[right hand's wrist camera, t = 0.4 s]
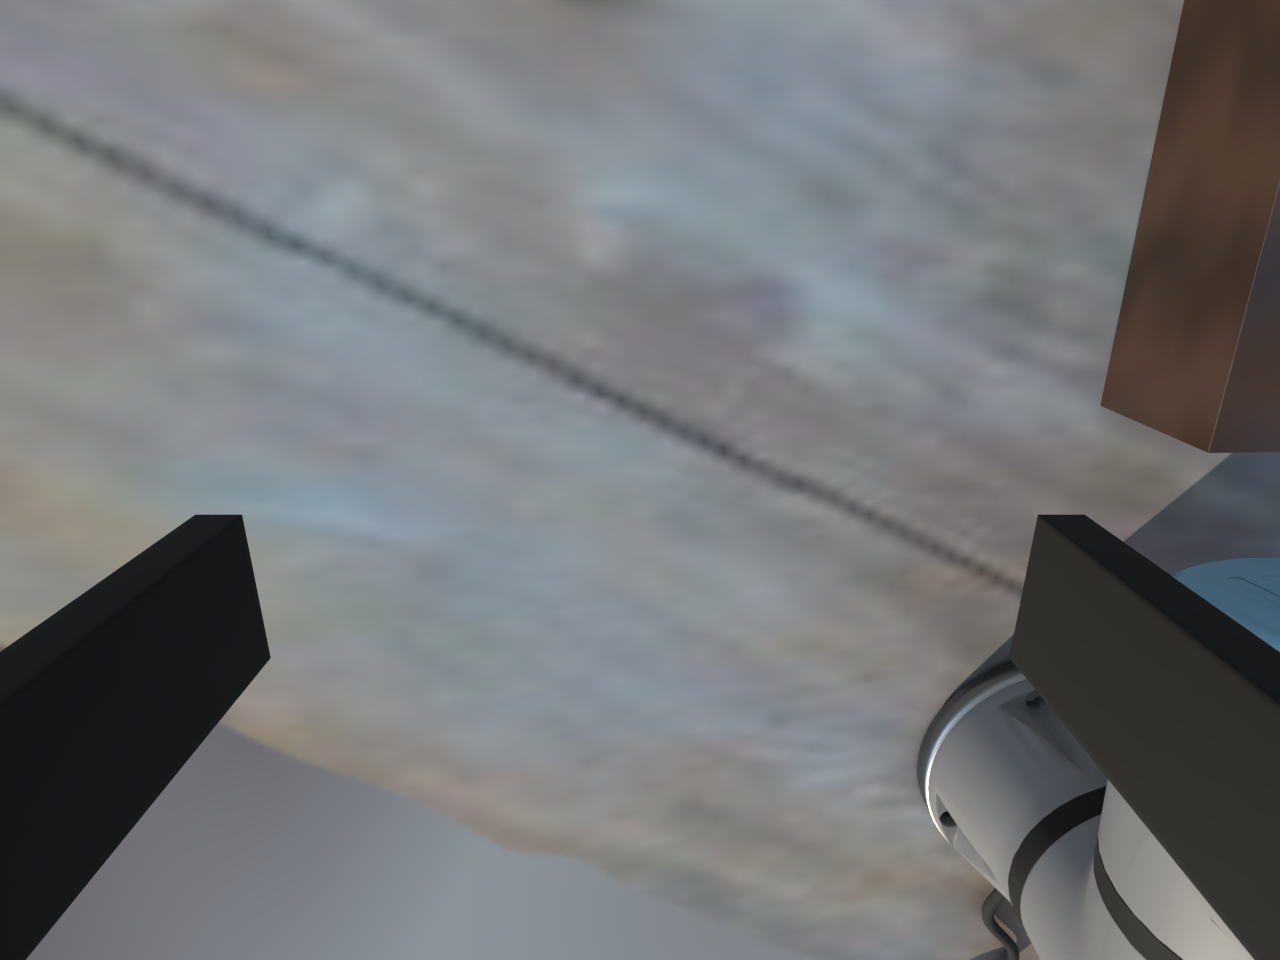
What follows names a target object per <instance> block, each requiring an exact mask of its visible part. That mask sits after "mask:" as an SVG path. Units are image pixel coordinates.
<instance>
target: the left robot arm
mask: <svg viewBox="0 0 1280 960" xmlns="http://www.w3.org/2000/svg"><path fill="white" fill-rule="evenodd" d="M1172 577H1174V578H1175V579H1177V580H1178V581H1179V582H1181V583H1182V584H1184V585H1185V586H1187V587H1188V588H1189V589H1191V590H1192V591H1194V592H1195V593H1197V594H1198V595H1199V596H1201V597H1202V598H1204V599H1205V600H1206V601H1208V602H1209V603H1211V604H1212V605H1214V606H1215V607H1216V608H1218V609H1219V610H1221V611H1222V612H1224V613H1225V614H1226V615H1228V616H1229V617H1231V618H1232V619H1233V620H1235V621H1236V622H1238V623H1239V624H1241V625H1242V626H1243V627H1245V628H1246V629H1248V630H1249V631H1251V632H1252V633H1253V634H1255V635H1256V636H1258V637H1259V638H1261V639H1262V640H1263V641H1265V642H1266V643H1268V644H1269V645H1270V646H1272V647H1273V648H1275V649H1276V650H1278V651H1279V652H1280V558H1276V557H1262V558H1240V559H1229V560H1221V561H1214V562H1208V563H1204V564H1200V565H1195V566H1192V567H1189V568H1187V569H1184V570H1181V571H1179V572H1177V573H1175V574H1174V575H1172ZM917 776H918V784H919V788H920V791H921V794H922V797H923V799H924V802H925V804H926V806H927V808H928V810H929V812H930V814H931V816H932V819H933V821H934V823H935V824H936V826H937V828H938V830H939V831H940V832H941V834H942V835H943V836H944V837H945V838H946V840H947V841H948V842H949V843H950V844H951V845H952V846H953V847H954V848H955V849H956V850H957V851H958V852H959V853H960V854H961V855H962V856H963V857H964V858H965V859H966V860H968V861H969V862H970V863H971V864H972V865H973V866H974V867H975V868H976V869H977V870H978V871H979V872H980V873H981V874H982V875H983V876H984V877H985V878H986V879H987V880H988V881H989V882H990V883H991V884H992V885H993V886H994V887H995V889H994V890H993V891H992V893H991V894H990V895H989V896H988V897H987V899H986V900H985V902H984V904H983V907H982V917H983V921H984V923H985V925H986V927H987V928H988V929H989V931H990V932H991V933H992V934H993V935H994V936H995V937H996V938H997V939H998V940H999V941H1000V942H1001V943H1002V944H1003V945H1004V947H1005V948H1006V950H1007V957H1006V960H1019V951H1018V947H1017V946H1016V944H1015V942H1014V941H1013V940H1012V939H1011V937H1010V936H1009V935H1008V934H1007V933H1006V932H1005V931H1004V930H1003V929H1002V928H1001V927H1000V926H999V925H998V924H997V922H996V921H995V918H994V912H995V910H996V908H997V906H998V905H999V904H1000V903H1001V902H1002V900H1003V899H1004V898H1006V899H1007V900H1008V901H1009V902H1010V903H1011V904H1012V906H1013V908H1014V910H1015V912H1016V914H1017V915H1018V917H1019V919H1020V921H1021V923H1022V925H1023V927H1024V929H1025V930H1026V933H1027V935H1028V937H1029V939H1030V940H1031V942H1032V944H1033V946H1034V948H1035V950H1036V952H1037V954H1038V956H1039V958H1040V960H1254V959H1253V957H1252V956H1251V955H1250V954H1249V953H1248V951H1247V950H1246V949H1245V948H1244V946H1243V945H1242V944H1241V943H1240V941H1239V940H1238V939H1237V938H1236V937H1235V935H1234V934H1233V933H1232V932H1231V930H1230V929H1229V928H1228V927H1227V925H1226V924H1225V923H1224V922H1223V921H1222V919H1221V918H1220V917H1219V916H1218V914H1217V913H1216V912H1215V911H1214V909H1213V908H1212V907H1211V906H1210V904H1209V903H1208V902H1207V901H1206V900H1205V898H1204V897H1203V896H1202V895H1201V893H1200V892H1199V891H1198V890H1197V888H1196V887H1195V886H1194V885H1193V884H1192V882H1191V881H1190V880H1189V879H1188V877H1187V876H1186V875H1185V874H1184V872H1183V871H1182V870H1181V869H1180V867H1179V866H1178V865H1177V864H1176V863H1175V861H1174V860H1173V859H1172V858H1171V856H1170V855H1169V854H1168V853H1167V851H1166V850H1165V849H1164V848H1163V847H1162V845H1161V844H1160V843H1159V842H1158V840H1157V839H1156V838H1155V837H1154V835H1153V834H1152V833H1151V832H1150V831H1149V829H1148V828H1147V827H1146V826H1145V824H1144V823H1143V822H1142V821H1141V819H1140V818H1139V817H1138V816H1137V814H1136V813H1135V812H1134V811H1133V810H1132V808H1131V807H1130V806H1129V805H1128V803H1127V802H1126V801H1125V800H1124V798H1123V797H1122V796H1121V795H1120V794H1119V792H1118V791H1117V790H1116V789H1115V787H1114V786H1113V785H1112V784H1111V782H1110V781H1109V780H1108V779H1107V777H1106V776H1105V775H1104V774H1103V773H1102V771H1101V770H1100V769H1099V768H1098V766H1097V765H1096V764H1095V763H1094V761H1093V760H1092V759H1091V758H1090V757H1089V755H1088V754H1087V753H1086V752H1085V750H1084V749H1083V748H1082V747H1081V745H1080V744H1079V743H1078V742H1077V741H1076V739H1075V738H1074V737H1073V736H1072V734H1071V733H1070V732H1069V731H1068V729H1067V728H1066V727H1065V726H1064V724H1063V723H1062V722H1061V721H1060V720H1059V718H1058V717H1057V716H1056V715H1055V713H1054V712H1053V711H1052V710H1051V708H1050V707H1049V706H1048V705H1047V704H1046V702H1045V701H1044V700H1043V699H1042V697H1041V696H1040V695H1039V694H1038V692H1037V691H1036V690H1035V689H1034V688H1033V686H1032V685H1031V684H1030V683H1029V681H1028V680H1027V679H1026V678H1025V676H1024V675H1023V674H1022V673H1021V671H1020V670H1019V669H1018V668H1017V667H1016V665H1015V664H1014V663H1013V662H1009V663H1007V664H1004V665H1001V666H999V667H997V668H995V669H992V670H990V671H988V672H987V673H985V674H983V675H981V676H979V677H978V678H976V679H975V680H973V681H972V682H970V683H969V684H967V685H966V686H965V687H963V688H962V689H961V690H959V691H958V692H957V693H956V694H955V695H954V696H953V697H952V698H951V699H950V700H949V701H948V702H947V703H946V704H945V705H944V706H943V707H942V708H941V710H940V711H939V712H938V714H937V715H936V716H935V718H934V719H933V721H932V722H931V724H930V726H929V728H928V730H927V732H926V734H925V736H924V738H923V741H922V744H921V747H920V751H919V755H918V763H917Z"/></svg>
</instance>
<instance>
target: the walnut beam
mask: <svg viewBox="0 0 1280 960" xmlns="http://www.w3.org/2000/svg"><path fill="white" fill-rule="evenodd" d="M1101 406H1103V407H1105V408H1107V409H1110V410H1112V411H1114V412H1116V413H1119V414H1121V415H1123V416H1126V417H1128V418H1130V419H1132V420H1135V421H1137V422H1139V423H1142V424H1144V425H1146V426H1148V427H1151V428H1153V429H1155V430H1158V431H1160V432H1162V433H1164V434H1167V435H1169V436H1171V437H1173V438H1176V439H1178V440H1180V441H1183V442H1185V443H1187V444H1189V445H1192V446H1194V447H1196V448H1199V449H1201V450H1203V451H1205V452H1208V453H1249V452H1280V0H1184V5H1183V10H1182V15H1181V20H1180V24H1179V29H1178V34H1177V39H1176V44H1175V49H1174V53H1173V58H1172V63H1171V68H1170V73H1169V78H1168V82H1167V87H1166V92H1165V97H1164V102H1163V107H1162V111H1161V116H1160V121H1159V126H1158V131H1157V136H1156V141H1155V145H1154V150H1153V155H1152V160H1151V165H1150V170H1149V174H1148V179H1147V184H1146V189H1145V194H1144V199H1143V203H1142V208H1141V213H1140V218H1139V223H1138V228H1137V232H1136V237H1135V242H1134V247H1133V252H1132V257H1131V262H1130V266H1129V271H1128V276H1127V281H1126V286H1125V291H1124V295H1123V300H1122V305H1121V310H1120V315H1119V320H1118V324H1117V329H1116V334H1115V339H1114V344H1113V349H1112V354H1111V358H1110V363H1109V368H1108V373H1107V378H1106V383H1105V387H1104V392H1103V397H1102V402H1101Z"/></svg>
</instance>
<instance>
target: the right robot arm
mask: <svg viewBox="0 0 1280 960" xmlns="http://www.w3.org/2000/svg"><path fill="white" fill-rule="evenodd" d="M269 659H270V653H269V648H268V643H267V638H266V633H265V628H264V623H263V618H262V613H261V608H260V603H259V598H258V593H257V588H256V583H255V578H254V573H253V568H252V563H251V558H250V553H249V548H248V543H247V538H246V533H245V528H244V523H243V518H242V515H194V516H193V517H192V518H190V519H189V520H187V521H186V522H185V523H183V524H182V525H180V526H179V527H177V528H176V529H175V530H173V531H172V532H170V533H169V534H167V535H166V536H165V537H163V538H162V539H160V540H159V541H157V542H156V543H155V544H153V545H152V546H150V547H149V548H148V549H146V550H145V551H143V552H142V553H140V554H139V555H138V556H136V557H135V558H133V559H132V560H130V561H129V562H128V563H126V564H125V565H123V566H122V567H120V568H119V569H118V570H116V571H115V572H113V573H112V574H111V575H109V576H108V577H106V578H105V579H103V580H102V581H101V582H99V583H98V584H96V585H95V586H93V587H92V588H91V589H89V590H88V591H86V592H85V593H83V594H82V595H81V596H79V597H78V598H76V599H75V600H74V601H72V602H71V603H69V604H68V605H66V606H65V607H64V608H62V609H61V610H59V611H58V612H56V613H55V614H54V615H52V616H51V617H49V618H48V619H47V620H45V621H44V622H42V623H41V624H39V625H38V626H37V627H35V628H34V629H32V630H31V631H29V632H28V633H27V634H25V635H24V636H22V637H21V638H19V639H18V640H17V641H15V642H14V643H12V644H11V645H10V646H8V647H7V648H5V649H4V650H2V651H1V652H0V960H26V959H27V957H28V956H29V955H30V954H31V953H32V951H33V950H34V949H35V948H36V946H37V945H38V944H39V943H40V941H41V940H42V939H43V938H44V937H45V935H46V934H47V933H48V932H49V930H50V929H51V928H52V927H53V925H54V924H55V923H56V922H57V921H58V919H59V918H60V917H61V915H62V914H63V913H64V912H65V911H66V909H67V908H68V907H69V906H70V904H71V903H72V902H73V901H74V900H75V898H76V897H77V896H78V894H79V893H80V892H81V891H82V890H83V888H84V887H85V886H86V885H87V884H88V882H89V881H90V880H91V879H92V877H93V876H94V875H95V874H96V872H97V871H98V870H99V869H100V867H101V866H102V865H103V864H104V863H105V861H106V860H107V859H108V858H109V856H110V855H111V854H112V853H113V851H114V850H115V849H116V848H117V847H118V845H119V844H120V843H121V842H122V840H123V839H124V838H125V837H126V835H127V834H128V833H129V832H130V831H131V829H132V828H133V827H134V826H135V824H136V823H137V822H138V821H139V819H140V818H141V817H142V816H143V814H144V813H145V812H146V811H147V810H148V808H149V807H150V806H151V805H152V803H153V802H154V801H155V800H156V798H157V797H158V796H159V795H160V793H161V792H162V791H163V790H164V789H165V787H166V786H167V785H168V784H169V782H170V781H171V780H172V779H173V777H174V776H175V775H176V774H177V773H178V771H179V770H180V769H181V768H182V766H183V765H184V764H185V763H186V761H187V760H188V759H189V758H190V757H191V755H192V754H193V753H194V752H195V750H196V749H197V748H198V747H199V745H200V744H201V743H202V742H203V740H204V739H205V738H206V737H207V736H208V734H209V733H210V732H211V731H212V729H213V728H214V727H215V726H216V724H217V723H218V722H219V721H220V720H221V718H222V717H223V716H224V715H225V713H226V712H227V711H228V710H229V708H230V707H231V706H232V705H233V704H234V702H235V701H236V700H237V699H238V697H239V696H240V695H241V694H242V692H243V691H244V690H245V689H246V687H247V686H248V685H249V684H250V683H251V681H252V680H253V679H254V678H255V676H256V675H257V674H258V673H259V671H260V670H261V669H262V668H263V667H264V665H265V664H266V663H267V662H268V660H269ZM1010 659H1011V660H1012V662H1013V663H1014V664H1015V665H1016V667H1017V668H1018V669H1019V670H1020V671H1021V673H1022V674H1023V675H1024V676H1025V678H1026V679H1027V680H1028V681H1029V683H1030V684H1031V685H1032V686H1033V688H1034V689H1035V690H1036V691H1037V692H1038V694H1039V695H1040V696H1041V697H1042V699H1043V700H1044V701H1045V702H1046V704H1047V705H1048V706H1049V707H1050V708H1051V710H1052V711H1053V712H1054V713H1055V715H1056V716H1057V717H1058V718H1059V720H1060V721H1061V722H1062V723H1063V724H1064V726H1065V727H1066V728H1067V729H1068V731H1069V732H1070V733H1071V734H1072V736H1073V737H1074V738H1075V739H1076V741H1077V742H1078V743H1079V744H1080V745H1081V747H1082V748H1083V749H1084V750H1085V752H1086V753H1087V754H1088V755H1089V757H1090V758H1091V759H1092V760H1093V761H1094V763H1095V764H1096V765H1097V766H1098V768H1099V769H1100V770H1101V771H1102V773H1103V774H1104V775H1105V776H1106V777H1107V779H1108V780H1109V781H1110V782H1111V784H1112V785H1113V786H1114V787H1115V789H1116V790H1117V791H1118V792H1119V794H1120V795H1121V796H1122V797H1123V798H1124V800H1125V801H1126V802H1127V803H1128V805H1129V806H1130V807H1131V808H1132V810H1133V811H1134V812H1135V813H1136V814H1137V816H1138V817H1139V818H1140V819H1141V821H1142V822H1143V823H1144V824H1145V826H1146V827H1147V828H1148V829H1149V831H1150V832H1151V833H1152V834H1153V835H1154V837H1155V838H1156V839H1157V840H1158V842H1159V843H1160V844H1161V845H1162V847H1163V848H1164V849H1165V850H1166V851H1167V853H1168V854H1169V855H1170V856H1171V858H1172V859H1173V860H1174V861H1175V863H1176V864H1177V865H1178V866H1179V867H1180V869H1181V870H1182V871H1183V872H1184V874H1185V875H1186V876H1187V877H1188V879H1189V880H1190V881H1191V882H1192V884H1193V885H1194V886H1195V887H1196V888H1197V890H1198V891H1199V892H1200V893H1201V895H1202V896H1203V897H1204V898H1205V900H1206V901H1207V902H1208V903H1209V904H1210V906H1211V907H1212V908H1213V909H1214V911H1215V912H1216V913H1217V914H1218V916H1219V917H1220V918H1221V919H1222V921H1223V922H1224V923H1225V924H1226V925H1227V927H1228V928H1229V929H1230V930H1231V932H1232V933H1233V934H1234V935H1235V937H1236V938H1237V939H1238V940H1239V941H1240V943H1241V944H1242V945H1243V946H1244V948H1245V949H1246V950H1247V951H1248V953H1249V954H1250V955H1251V956H1252V957H1253V959H1254V960H1280V652H1279V651H1278V650H1276V649H1275V648H1273V647H1272V646H1270V645H1269V644H1268V643H1266V642H1265V641H1263V640H1262V639H1261V638H1259V637H1258V636H1256V635H1255V634H1253V633H1252V632H1251V631H1249V630H1248V629H1246V628H1245V627H1243V626H1242V625H1241V624H1239V623H1238V622H1236V621H1235V620H1233V619H1232V618H1231V617H1229V616H1228V615H1226V614H1225V613H1224V612H1222V611H1221V610H1219V609H1218V608H1216V607H1215V606H1214V605H1212V604H1211V603H1209V602H1208V601H1206V600H1205V599H1204V598H1202V597H1201V596H1199V595H1198V594H1197V593H1195V592H1194V591H1192V590H1191V589H1189V588H1188V587H1187V586H1185V585H1184V584H1182V583H1181V582H1179V581H1178V580H1177V579H1175V578H1174V577H1172V576H1171V575H1169V574H1168V573H1167V572H1165V571H1164V570H1162V569H1161V568H1160V567H1158V566H1157V565H1155V564H1154V563H1152V562H1151V561H1150V560H1148V559H1147V558H1145V557H1144V556H1142V555H1141V554H1140V553H1138V552H1137V551H1135V550H1134V549H1132V548H1131V547H1130V546H1128V545H1127V544H1125V543H1124V542H1123V541H1121V540H1120V539H1118V538H1117V537H1115V536H1114V535H1113V534H1111V533H1110V532H1108V531H1107V530H1105V529H1104V528H1103V527H1101V526H1100V525H1098V524H1097V523H1095V522H1094V521H1093V520H1091V519H1090V518H1088V517H1087V516H1086V515H1038V518H1037V523H1036V528H1035V533H1034V538H1033V543H1032V548H1031V553H1030V558H1029V563H1028V568H1027V573H1026V578H1025V583H1024V588H1023V593H1022V598H1021V603H1020V608H1019V613H1018V618H1017V623H1016V628H1015V633H1014V638H1013V643H1012V648H1011V653H1010Z"/></svg>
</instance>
